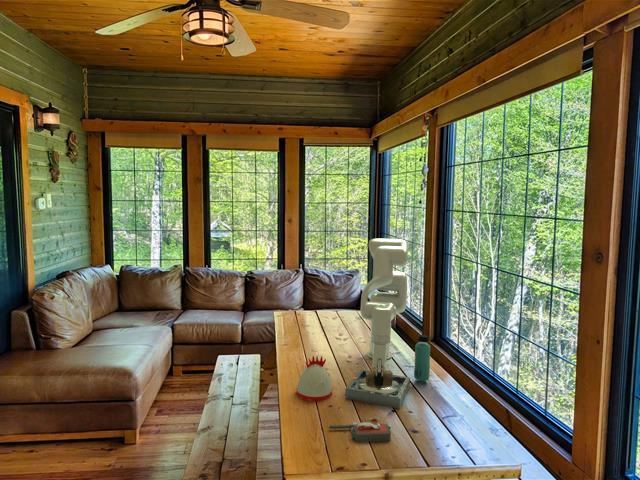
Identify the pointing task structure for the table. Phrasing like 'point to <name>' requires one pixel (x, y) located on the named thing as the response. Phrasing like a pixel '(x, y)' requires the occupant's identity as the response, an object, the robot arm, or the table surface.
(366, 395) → the dial housing
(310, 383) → the kitchen timer
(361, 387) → the dial
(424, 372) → the beverage bottle
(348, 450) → the table surface
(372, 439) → the walkie-talkie
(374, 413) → the table surface
